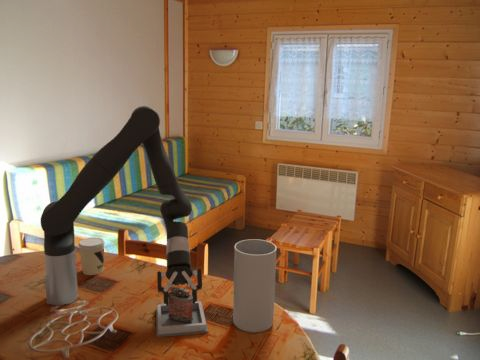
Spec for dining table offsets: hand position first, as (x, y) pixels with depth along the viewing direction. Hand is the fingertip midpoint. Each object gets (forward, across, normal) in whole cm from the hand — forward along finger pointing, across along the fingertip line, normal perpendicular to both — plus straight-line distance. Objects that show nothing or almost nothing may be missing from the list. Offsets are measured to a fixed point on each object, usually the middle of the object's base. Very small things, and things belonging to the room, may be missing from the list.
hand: (180, 304), depth 133 cm
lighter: (+3, 0, +4) cm, 5 cm away
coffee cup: (-25, -31, +34) cm, 52 cm away
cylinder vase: (+7, +22, +2) cm, 23 cm away
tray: (+4, 0, +5) cm, 6 cm away
